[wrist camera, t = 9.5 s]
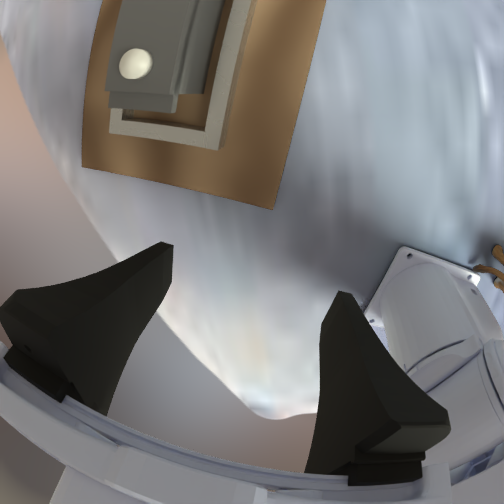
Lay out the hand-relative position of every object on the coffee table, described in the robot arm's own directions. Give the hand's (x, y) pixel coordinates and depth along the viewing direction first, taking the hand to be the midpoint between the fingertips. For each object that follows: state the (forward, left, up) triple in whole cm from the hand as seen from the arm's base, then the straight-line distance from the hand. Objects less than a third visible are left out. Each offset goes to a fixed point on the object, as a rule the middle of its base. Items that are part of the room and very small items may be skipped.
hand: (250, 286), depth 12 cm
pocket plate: (+8, -10, -9) cm, 16 cm away
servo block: (+8, -10, -8) cm, 15 cm away
